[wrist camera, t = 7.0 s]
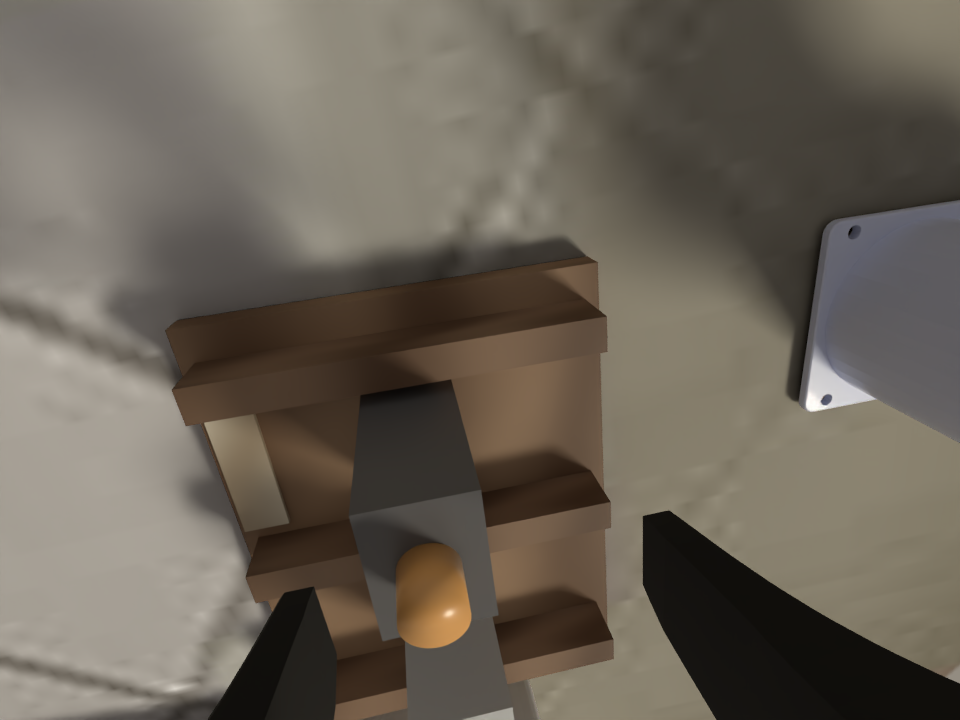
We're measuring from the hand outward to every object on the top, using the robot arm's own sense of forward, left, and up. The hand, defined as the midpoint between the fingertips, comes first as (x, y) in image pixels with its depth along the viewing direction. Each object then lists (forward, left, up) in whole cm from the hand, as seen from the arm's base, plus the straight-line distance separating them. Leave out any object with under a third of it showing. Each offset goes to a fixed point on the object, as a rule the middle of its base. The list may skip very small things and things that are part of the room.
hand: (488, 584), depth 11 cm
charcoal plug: (+1, +1, -8) cm, 8 cm away
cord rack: (+1, +5, -9) cm, 10 cm away
